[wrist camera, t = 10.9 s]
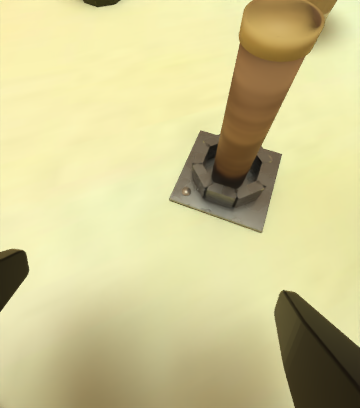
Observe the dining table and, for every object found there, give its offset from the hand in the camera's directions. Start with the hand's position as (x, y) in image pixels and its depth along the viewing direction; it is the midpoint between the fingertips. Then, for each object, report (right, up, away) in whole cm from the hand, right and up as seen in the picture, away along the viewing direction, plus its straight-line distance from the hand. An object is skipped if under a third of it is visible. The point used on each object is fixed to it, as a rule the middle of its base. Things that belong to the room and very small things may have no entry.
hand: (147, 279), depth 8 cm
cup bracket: (+6, +6, +17) cm, 19 cm away
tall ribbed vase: (+6, +6, +17) cm, 19 cm away
